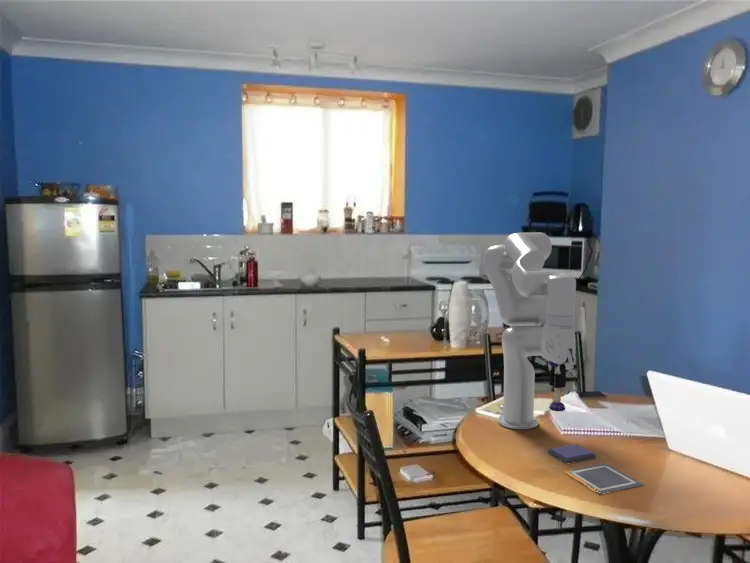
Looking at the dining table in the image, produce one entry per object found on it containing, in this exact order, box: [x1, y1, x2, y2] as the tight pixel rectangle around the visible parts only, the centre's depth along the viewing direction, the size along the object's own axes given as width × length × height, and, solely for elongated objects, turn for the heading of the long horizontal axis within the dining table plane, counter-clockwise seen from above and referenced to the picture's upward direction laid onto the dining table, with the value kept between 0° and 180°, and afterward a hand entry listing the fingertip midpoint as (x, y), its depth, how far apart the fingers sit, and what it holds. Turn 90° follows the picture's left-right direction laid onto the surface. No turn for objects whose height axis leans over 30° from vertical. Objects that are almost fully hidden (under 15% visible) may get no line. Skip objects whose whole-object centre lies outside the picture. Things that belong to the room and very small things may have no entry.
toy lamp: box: [549, 361, 566, 412], centre depth 177 cm, size 5×5×17 cm
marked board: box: [570, 462, 645, 495], centre depth 166 cm, size 14×14×1 cm
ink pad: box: [547, 443, 597, 465], centre depth 181 cm, size 8×10×2 cm
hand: (557, 385), depth 177 cm, fingers closed on toy lamp
